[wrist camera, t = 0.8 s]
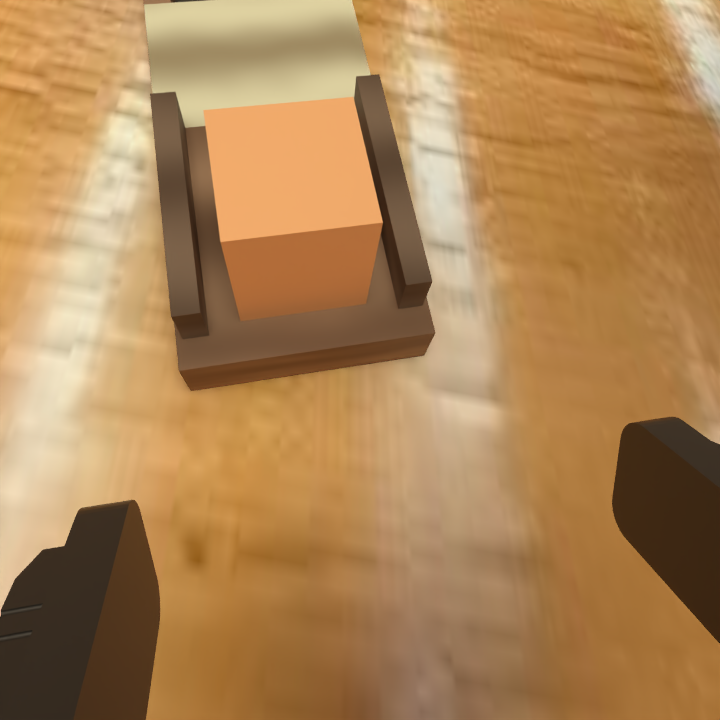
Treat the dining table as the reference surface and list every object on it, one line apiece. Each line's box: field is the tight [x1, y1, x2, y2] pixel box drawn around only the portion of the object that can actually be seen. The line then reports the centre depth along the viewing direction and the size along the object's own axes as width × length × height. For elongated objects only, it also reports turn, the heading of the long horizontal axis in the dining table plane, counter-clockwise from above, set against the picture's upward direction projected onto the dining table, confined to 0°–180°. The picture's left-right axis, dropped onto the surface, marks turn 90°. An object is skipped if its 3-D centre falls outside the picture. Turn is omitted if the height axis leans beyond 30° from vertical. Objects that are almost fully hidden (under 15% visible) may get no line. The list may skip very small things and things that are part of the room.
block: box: [203, 97, 383, 321], centre depth 26 cm, size 6×6×7 cm
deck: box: [144, 0, 435, 391], centre depth 33 cm, size 32×12×6 cm, turn 11°
